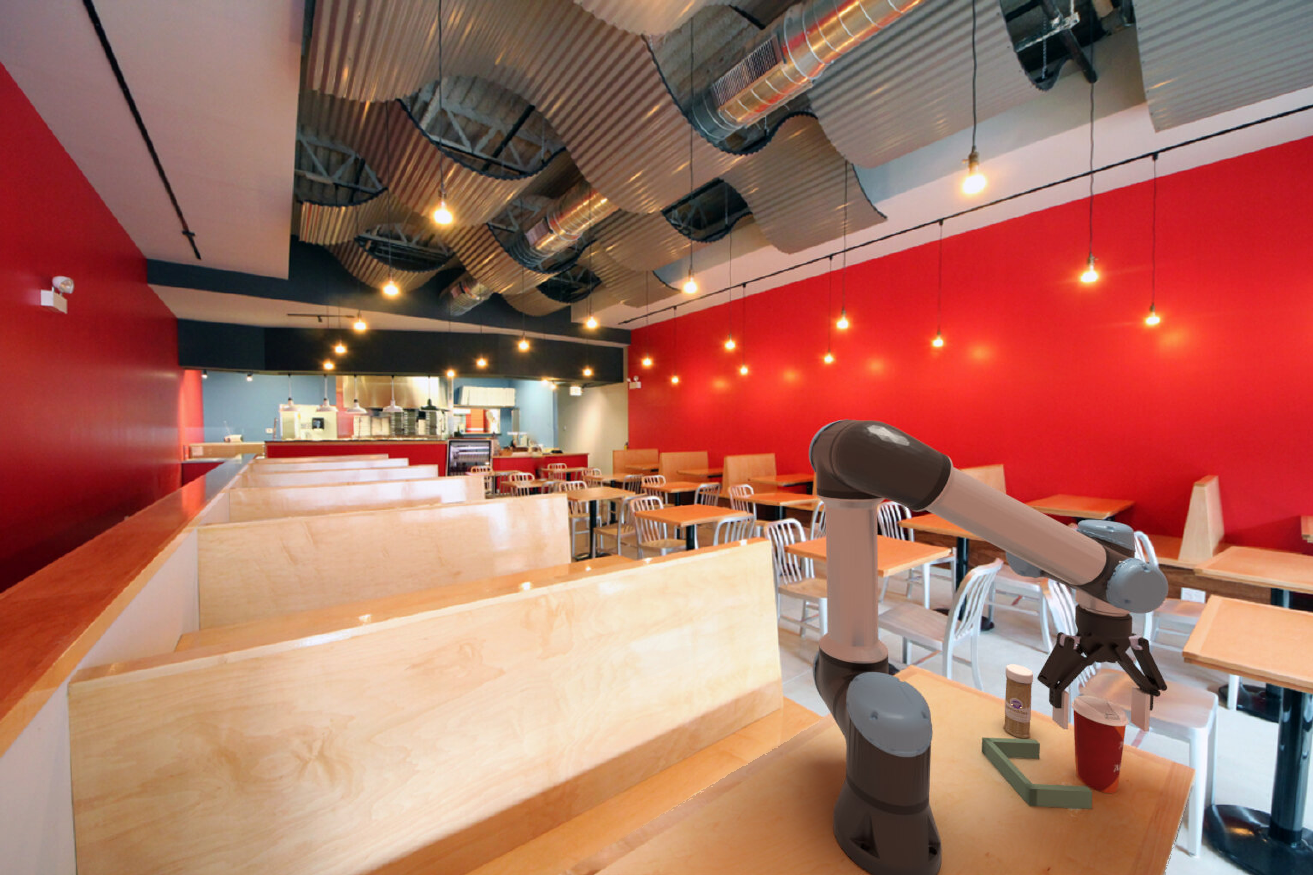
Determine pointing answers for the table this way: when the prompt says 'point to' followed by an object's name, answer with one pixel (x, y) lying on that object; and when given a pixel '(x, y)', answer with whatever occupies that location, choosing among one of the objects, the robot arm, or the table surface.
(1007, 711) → the sprinkles bottle
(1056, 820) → the table surface
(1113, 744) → the paper cup
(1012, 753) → the green pocket
